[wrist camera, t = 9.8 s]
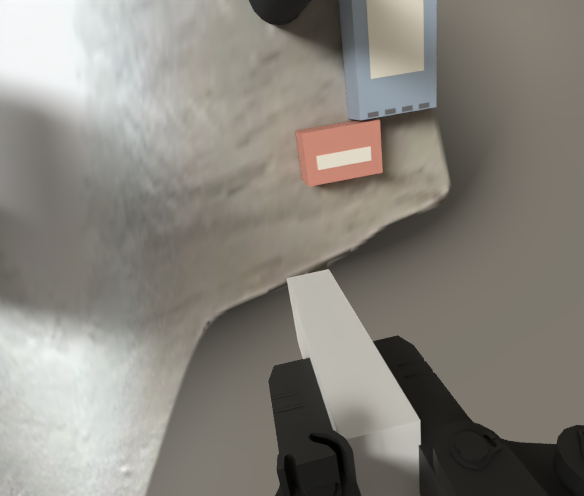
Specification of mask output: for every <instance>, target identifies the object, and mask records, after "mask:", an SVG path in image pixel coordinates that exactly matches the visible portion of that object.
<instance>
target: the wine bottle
mask: <svg viewBox="0 0 584 496" xmlns="http://www.w3.org/2000/svg"><path fill="white" fill-rule="evenodd" d="M310 1H311V0H249V2H250V4H251V6H252V8H253V9H254V11H255V12H256V13H257V14H258V16H259V17H260V18H261V19H263V20H265V21H267V22H268V23H270V24H277V25H281V24H286V23H289V22H291V21H292V20H294V19H295V18H297V16H298V15H299V14H300V13H301V12H302V10H303V9H304V8H305V7H306V6H307V4H308V3H309V2H310Z"/></svg>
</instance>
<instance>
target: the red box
mask: <svg viewBox="0 0 584 496" xmlns="http://www.w3.org/2000/svg"><path fill="white" fill-rule="evenodd" d="M296 137H297V144H298V151H299V158H300V166H301V173H302V180H303V181H304V182H305V183H306V184H307V185H308V186H309V187H310V186H315V185H320V184H326V183H331V182H336V181H341V180H347V179H352V178H357V177H362V176H368V175H373V174H378V173H383V169H382V150H381V131H380V120H378V119H366V120H355V121H349V122H343V123H337V124H332V125H326V126H320V127H315V128H309V129H303V130H298V131H296Z"/></svg>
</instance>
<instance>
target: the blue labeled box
mask: <svg viewBox="0 0 584 496" xmlns="http://www.w3.org/2000/svg"><path fill="white" fill-rule="evenodd" d="M338 1H339V13H340V24H341V36H342V48H343V60H344V71H345V83H346V95H347V106H348V118H349V119H354V120H366V119H371V118H377V117H383V116H389V115H394V114H400V113H406V112H411V111H417V110H423V109H428V108H434V107H436V89H437V88H436V87H437V81H436V79H437V78H436V77H437V67H436V66H437V0H338Z"/></svg>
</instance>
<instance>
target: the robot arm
mask: <svg viewBox="0 0 584 496" xmlns="http://www.w3.org/2000/svg"><path fill="white" fill-rule="evenodd" d="M287 283H288V289H289V294H290V300H291V305H292V311H293V317H294V323H295V328H296V334H297V339H298V344H299V347H300V350H301V354H302V358H303V359H301V360H297V361H293V362H288V363H284V364H280V365H276V366H274V367H273V370H272V373H271V376H270V379H269V388H270V394H271V401H272V408H273V414H274V421H275V428H276V435H277V442H278V448H279V454H278V458H277V474H278V478H279V482H280V486H279V489H278V491H277V493H276V495H275V496H584V426H582V425H576V426H573V427H570V428H566V429H564V430H563V432H562V433H561V434H560V435H559V436H558V440H557V444H541V443H520V442H514V441H507V440H504V439H501V438H500V437H499V436H498V435H497V434H495V433H494V432H493V431H492V430H490V429H488V428H486V427H484V426H482V425H480V424H477V423H474V422H473V421H472V420H471V419H470V418H469V417H468V416H467V414H466V413H465V412H464V411H463V409H462V408H461V407H460V405H459V404H458V403H457V401H456V400H455V399H454V398H453V396H452V395H451V394H450V392H449V391H448V390H447V388H446V387H445V386H444V384H443V383H442V382H441V380H440V379H439V378H438V377H437V375H436V374H435V373H433V371H432V369H431V367H430V366H429V365H428V364H427V362H425V361H424V358H423V357H422V356H421V354H420V353H419V352H418V351H417V349H416V348H415V347H414V345H412V344H411V343H409V342H407V341H406V340H404V339H403V338H401V337H399V336H394V337H390V338H385V339H381V340H377V341H372V340H371V338H370V336H369V335H368V333H367V332H366V330H365V328H364V327H363V325H362V323H361V322H360V320H359V318H358V317H357V315H356V314H355V312H354V310H353V309H352V307H351V305H350V304H349V302H348V300H347V299H346V297H345V296H344V294H343V292H342V290H341V289H340V287H339V285H338V284H337V282H336V280H335V279H334V277H333V275H332V274H331V272H330V271H329V269H328V270H323V271H318V272H313V273H309V274H304V275H299V276H295V277H290V278H287Z"/></svg>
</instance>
